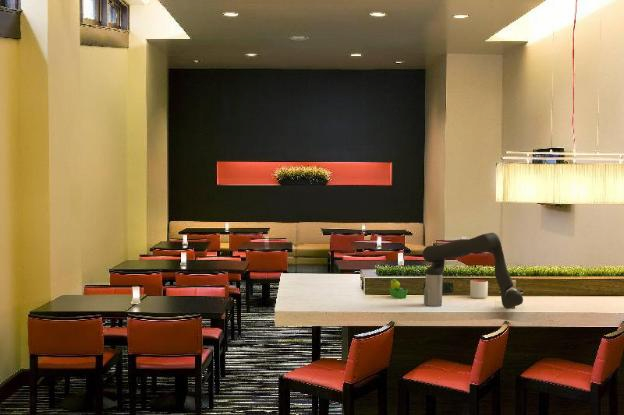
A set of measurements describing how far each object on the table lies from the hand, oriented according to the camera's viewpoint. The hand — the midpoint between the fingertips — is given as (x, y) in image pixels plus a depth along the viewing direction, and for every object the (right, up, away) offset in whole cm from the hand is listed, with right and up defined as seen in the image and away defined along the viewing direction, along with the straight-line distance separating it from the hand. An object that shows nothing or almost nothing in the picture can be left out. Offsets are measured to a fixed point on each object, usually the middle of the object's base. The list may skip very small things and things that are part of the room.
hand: (510, 289), depth 443 cm
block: (+1, -10, +4) cm, 11 cm away
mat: (+2, -10, +11) cm, 15 cm away
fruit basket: (-58, -8, +36) cm, 68 cm away
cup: (-9, -9, +39) cm, 41 cm away
